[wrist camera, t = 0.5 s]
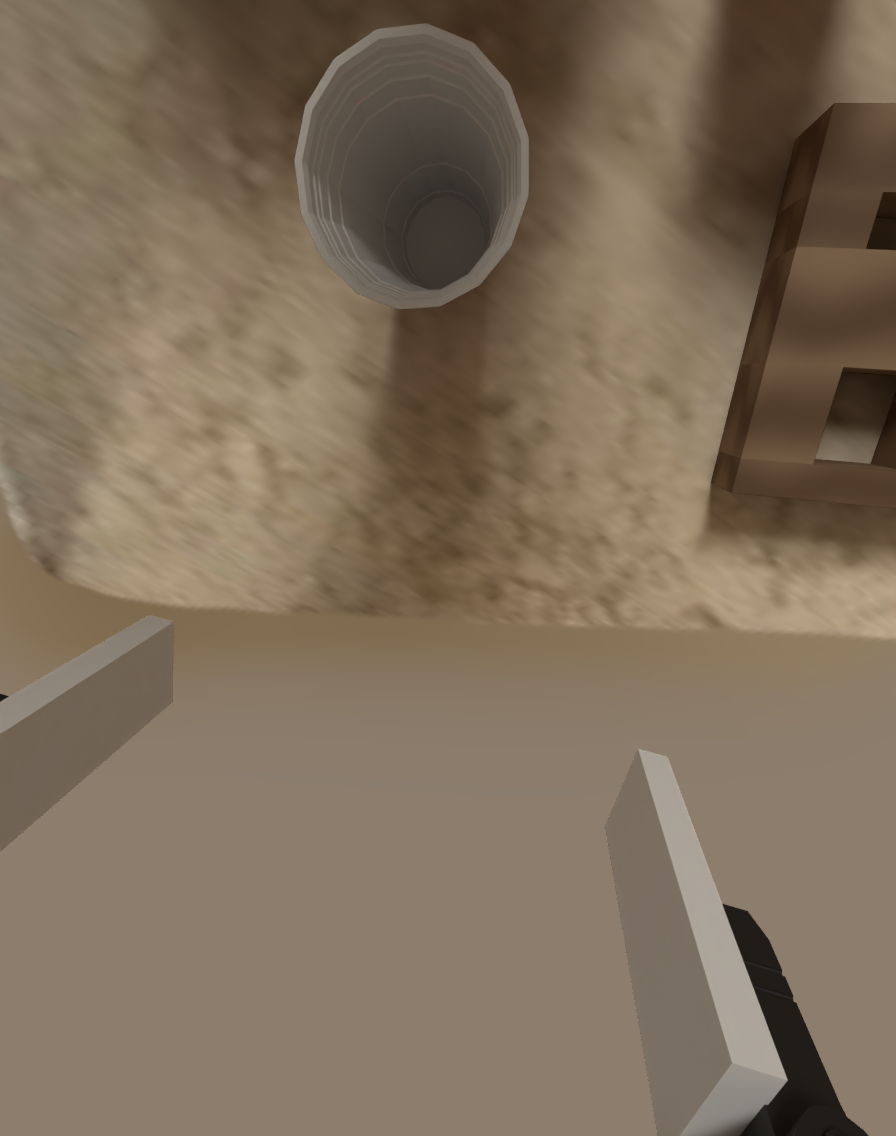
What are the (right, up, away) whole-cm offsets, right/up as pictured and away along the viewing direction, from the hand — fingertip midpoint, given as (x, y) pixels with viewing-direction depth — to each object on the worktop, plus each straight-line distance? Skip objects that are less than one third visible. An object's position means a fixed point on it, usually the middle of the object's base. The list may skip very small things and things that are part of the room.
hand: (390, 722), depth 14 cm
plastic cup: (+2, +26, +20) cm, 33 cm away
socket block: (+28, +19, +18) cm, 38 cm away
